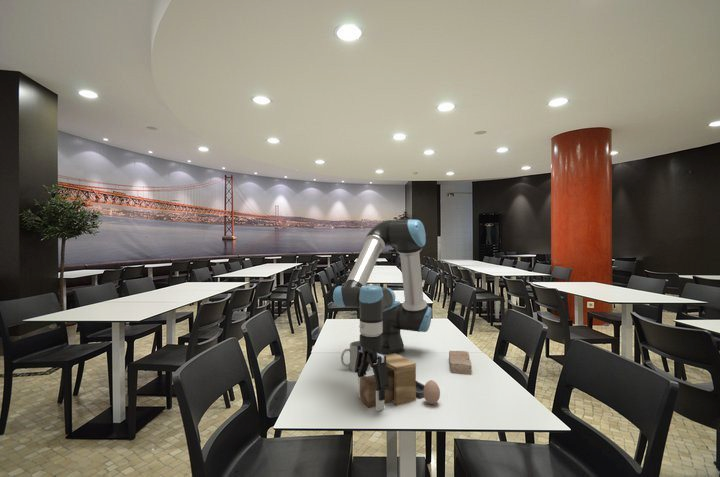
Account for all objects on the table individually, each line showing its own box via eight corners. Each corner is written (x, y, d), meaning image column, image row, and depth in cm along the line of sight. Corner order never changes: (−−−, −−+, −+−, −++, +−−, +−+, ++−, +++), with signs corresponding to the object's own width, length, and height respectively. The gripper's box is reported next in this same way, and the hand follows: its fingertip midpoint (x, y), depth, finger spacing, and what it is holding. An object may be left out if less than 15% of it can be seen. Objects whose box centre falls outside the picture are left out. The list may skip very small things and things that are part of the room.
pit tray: (398, 386, 121) (398, 381, 121) (411, 383, 124) (411, 378, 124) (418, 398, 111) (418, 393, 111) (432, 394, 114) (432, 389, 114)
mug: (369, 364, 143) (369, 340, 144) (371, 371, 135) (371, 346, 135) (340, 364, 142) (340, 341, 143) (341, 372, 134) (341, 347, 134)
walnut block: (360, 402, 109) (360, 378, 109) (397, 392, 117) (397, 369, 117) (368, 409, 105) (368, 383, 105) (406, 397, 112) (406, 374, 112)
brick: (472, 375, 131) (472, 363, 132) (450, 373, 133) (450, 362, 134) (468, 361, 148) (468, 351, 148) (448, 360, 150) (448, 349, 150)
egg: (440, 408, 105) (440, 384, 105) (423, 406, 106) (423, 383, 106) (439, 400, 110) (439, 377, 110) (423, 398, 111) (423, 376, 111)
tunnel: (376, 392, 116) (376, 357, 116) (395, 387, 120) (395, 353, 120) (396, 406, 106) (396, 367, 106) (415, 400, 110) (415, 363, 111)
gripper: (344, 327, 116) (344, 392, 116) (380, 344, 97) (380, 421, 97) (363, 325, 120) (363, 387, 120) (401, 340, 101) (401, 414, 100)
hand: (371, 402), depth 108 cm, fingers open, 10 cm apart
